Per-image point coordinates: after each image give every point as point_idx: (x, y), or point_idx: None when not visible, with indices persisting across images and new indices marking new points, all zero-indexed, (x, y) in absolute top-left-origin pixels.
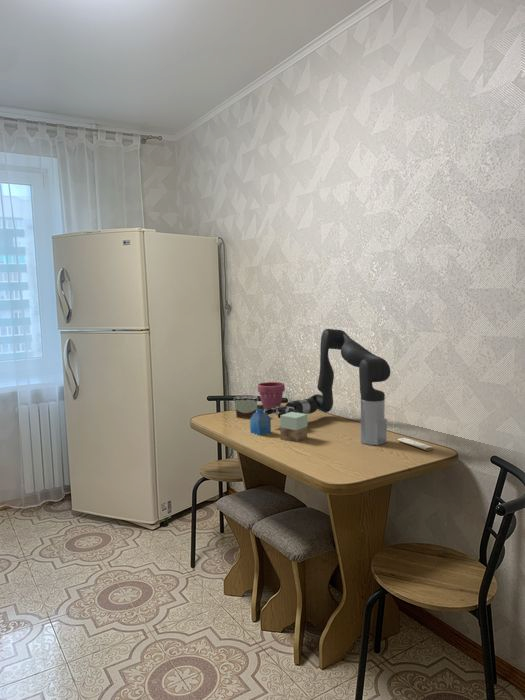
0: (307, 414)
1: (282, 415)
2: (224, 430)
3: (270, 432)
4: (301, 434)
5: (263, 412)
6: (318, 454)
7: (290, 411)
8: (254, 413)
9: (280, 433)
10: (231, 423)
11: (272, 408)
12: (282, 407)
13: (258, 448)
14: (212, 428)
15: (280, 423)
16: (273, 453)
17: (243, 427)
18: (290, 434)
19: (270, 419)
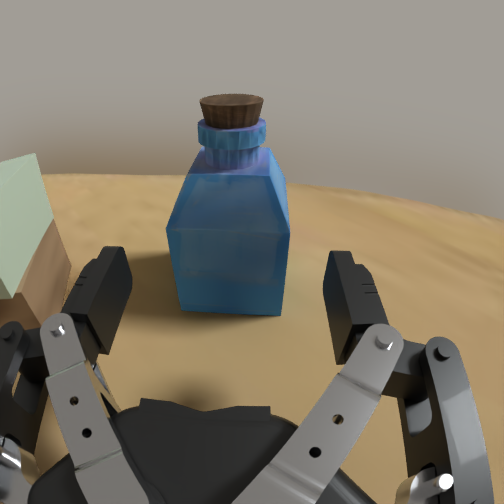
0: None
1: (23, 158)
2: (388, 218)
3: (181, 305)
4: None
5: (206, 158)
6: None
7: (8, 335)
8: (260, 148)
9: (61, 241)
10: (496, 288)
11: (363, 335)
12: (265, 469)
13: (103, 182)
14: (435, 213)
15: (46, 197)
16: (48, 186)
17: (404, 285)
18: None
19: (166, 232)
